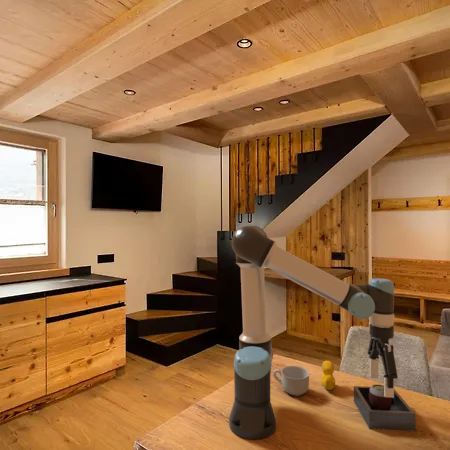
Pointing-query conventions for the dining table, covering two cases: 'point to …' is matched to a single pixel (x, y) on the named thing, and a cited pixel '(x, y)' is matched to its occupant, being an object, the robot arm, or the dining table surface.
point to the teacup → (293, 379)
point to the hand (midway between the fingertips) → (381, 386)
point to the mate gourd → (379, 398)
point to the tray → (385, 412)
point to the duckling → (328, 375)
